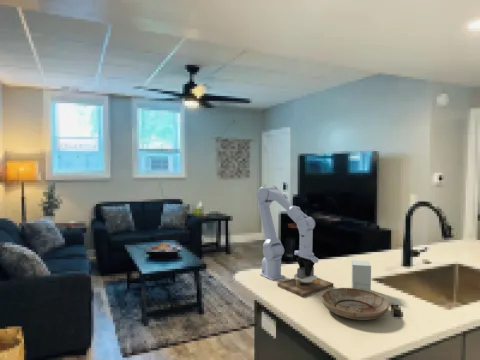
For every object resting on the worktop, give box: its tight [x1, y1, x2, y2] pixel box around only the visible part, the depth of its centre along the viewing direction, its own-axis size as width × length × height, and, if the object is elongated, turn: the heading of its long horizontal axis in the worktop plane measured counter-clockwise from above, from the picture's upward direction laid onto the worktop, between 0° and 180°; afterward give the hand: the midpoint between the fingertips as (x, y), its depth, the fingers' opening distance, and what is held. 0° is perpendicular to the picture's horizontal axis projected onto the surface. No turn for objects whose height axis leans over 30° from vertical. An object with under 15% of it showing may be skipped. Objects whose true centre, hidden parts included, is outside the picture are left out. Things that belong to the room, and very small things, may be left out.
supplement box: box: [351, 259, 372, 292], centre depth 141 cm, size 7×7×13 cm
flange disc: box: [293, 266, 320, 284], centre depth 146 cm, size 12×10×5 cm
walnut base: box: [277, 277, 334, 298], centre depth 147 cm, size 15×20×5 cm
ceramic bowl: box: [321, 287, 390, 321], centre depth 122 cm, size 23×24×5 cm
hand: (305, 274), depth 147 cm, fingers closed on flange disc, 3 cm apart
